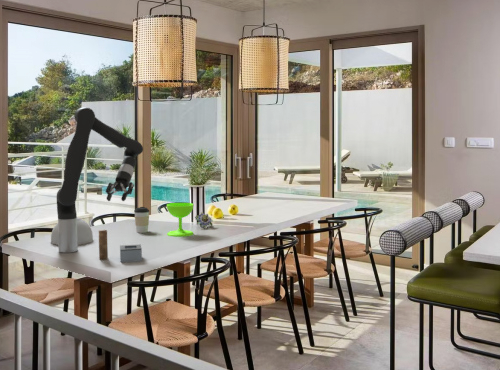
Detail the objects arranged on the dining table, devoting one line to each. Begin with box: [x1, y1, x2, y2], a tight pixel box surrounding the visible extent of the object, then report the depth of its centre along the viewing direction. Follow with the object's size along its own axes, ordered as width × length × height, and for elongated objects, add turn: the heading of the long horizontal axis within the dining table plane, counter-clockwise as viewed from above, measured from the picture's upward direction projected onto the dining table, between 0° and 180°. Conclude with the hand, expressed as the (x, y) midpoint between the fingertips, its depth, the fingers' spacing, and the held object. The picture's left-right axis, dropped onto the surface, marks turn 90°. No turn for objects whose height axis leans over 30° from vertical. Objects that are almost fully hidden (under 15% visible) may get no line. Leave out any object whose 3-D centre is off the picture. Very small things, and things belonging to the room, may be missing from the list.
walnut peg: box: [98, 229, 109, 261], centre depth 277 cm, size 4×4×14 cm
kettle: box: [50, 216, 94, 246], centre depth 320 cm, size 25×23×22 cm
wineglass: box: [166, 202, 195, 238], centre depth 339 cm, size 16×16×18 cm
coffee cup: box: [133, 206, 150, 234], centre depth 347 cm, size 9×9×15 cm
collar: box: [119, 244, 143, 263], centre depth 276 cm, size 10×10×6 cm
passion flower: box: [194, 211, 214, 230], centre depth 362 cm, size 11×11×12 cm
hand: (115, 200), depth 289 cm, fingers open, 8 cm apart
